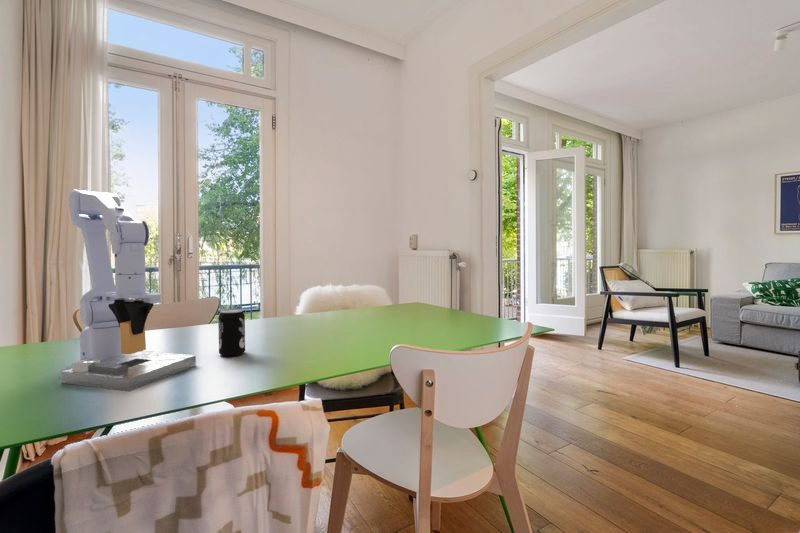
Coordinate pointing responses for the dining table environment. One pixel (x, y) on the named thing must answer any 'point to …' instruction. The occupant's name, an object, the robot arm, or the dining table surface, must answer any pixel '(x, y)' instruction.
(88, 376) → the gray slotted plate
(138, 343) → the orange rectangular block
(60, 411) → the dining table surface
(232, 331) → the beverage can
